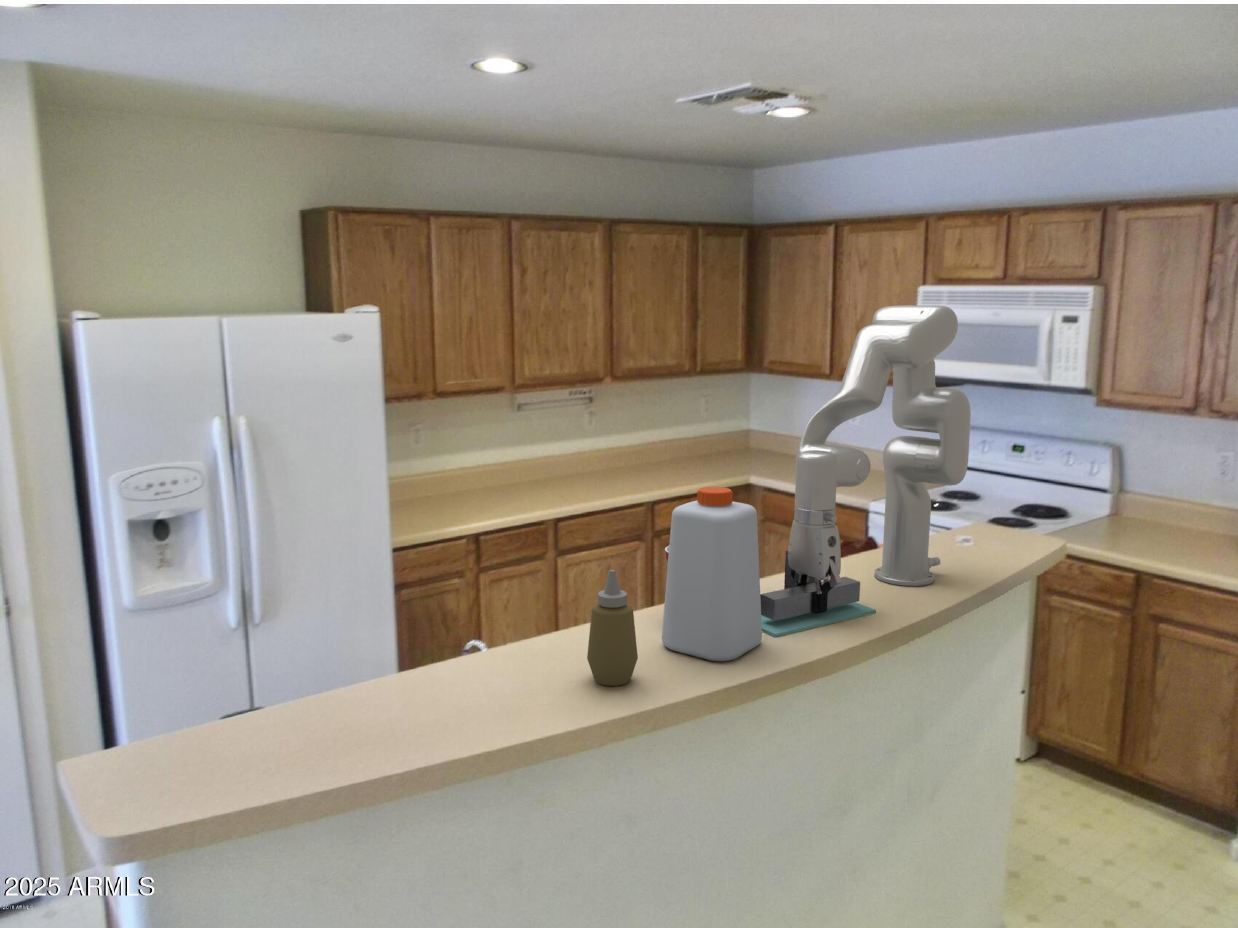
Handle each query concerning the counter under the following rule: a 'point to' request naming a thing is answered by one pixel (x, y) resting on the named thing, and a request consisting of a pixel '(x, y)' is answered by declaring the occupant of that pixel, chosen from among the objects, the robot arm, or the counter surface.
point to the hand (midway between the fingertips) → (810, 608)
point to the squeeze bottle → (612, 636)
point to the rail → (806, 599)
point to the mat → (814, 619)
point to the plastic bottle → (713, 578)
